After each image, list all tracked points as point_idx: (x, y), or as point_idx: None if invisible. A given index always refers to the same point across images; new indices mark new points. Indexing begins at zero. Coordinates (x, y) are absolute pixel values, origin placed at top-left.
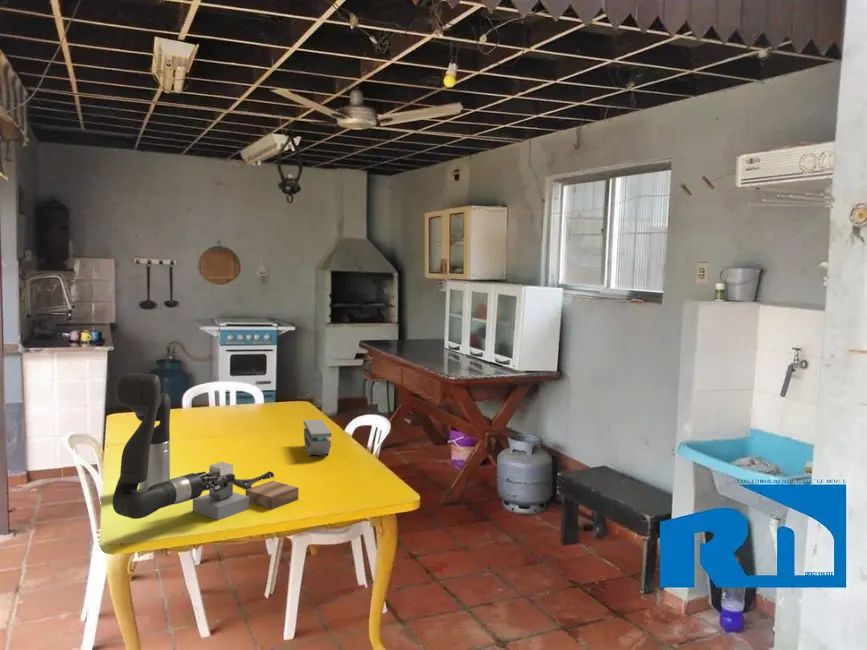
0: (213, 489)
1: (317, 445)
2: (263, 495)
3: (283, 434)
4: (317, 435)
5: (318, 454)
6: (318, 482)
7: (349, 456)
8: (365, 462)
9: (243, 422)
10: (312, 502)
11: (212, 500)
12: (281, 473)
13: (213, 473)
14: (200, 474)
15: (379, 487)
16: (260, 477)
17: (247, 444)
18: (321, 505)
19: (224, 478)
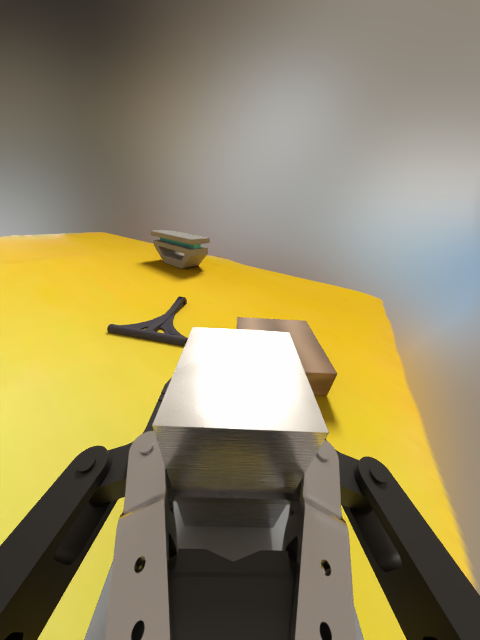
0: (219, 511)
1: (196, 254)
2: (305, 373)
3: (118, 252)
4: (196, 241)
5: (191, 265)
6: (256, 298)
7: (219, 264)
8: (244, 267)
9: (55, 246)
10: (328, 338)
11: (226, 549)
12: (188, 295)
13: (219, 463)
14: (64, 530)
15: (320, 290)
16: (174, 310)
17: (84, 265)
18: (351, 340)
19: (335, 463)
